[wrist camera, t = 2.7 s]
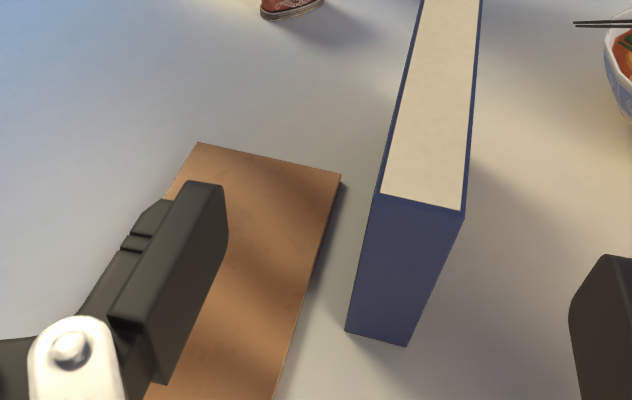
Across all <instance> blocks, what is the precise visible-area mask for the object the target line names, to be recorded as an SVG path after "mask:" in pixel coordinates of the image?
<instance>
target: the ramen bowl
mask: <svg viewBox="0 0 632 400" xmlns="http://www.w3.org/2000/svg"><path fill="white" fill-rule="evenodd" d="M604 23H610V25H576V26H575V27H586V28H608V31H607V34H606V37H605V40H604V61H605V67H606V72H607V77H608V80H609V83H610V85H611V88H612V91H613V93H614V96H615V98H616V101H617V103H618V106H619V109H620V111H621V114H622V115H623V116H624V117H625V119H626V120H627V121H628V122H629V123H630V124H631V125H632V7H631V8H629V9H627V10H625V11H623V12H621V13H619V14H617V15H615V16H613V17H612V19H611V20H603V21H577V22H573V24H604Z"/></svg>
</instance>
